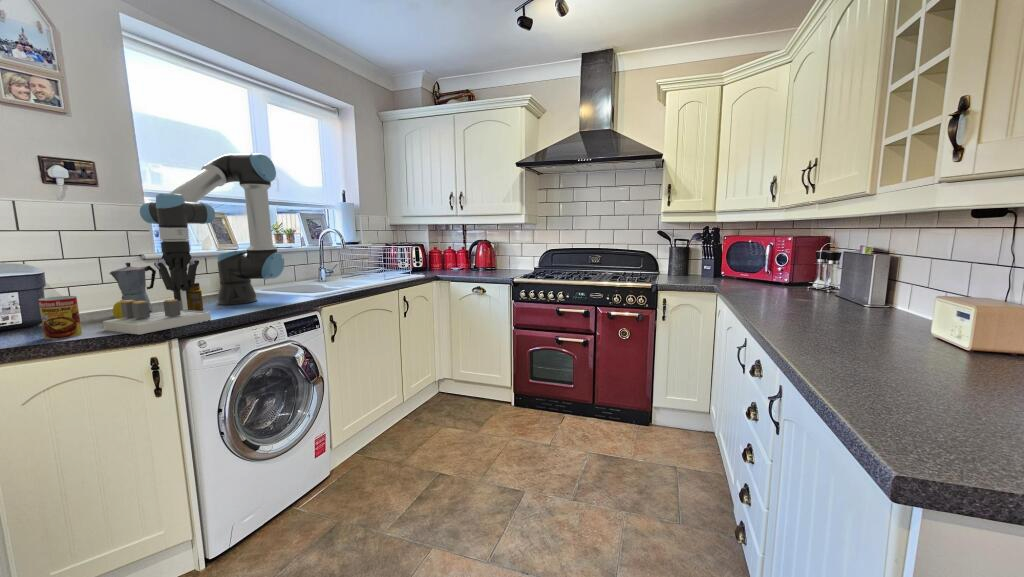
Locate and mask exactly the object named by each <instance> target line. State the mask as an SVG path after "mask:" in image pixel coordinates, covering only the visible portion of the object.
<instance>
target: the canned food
mask: <svg viewBox="0 0 1024 577" xmlns="http://www.w3.org/2000/svg"><path fill="white" fill-rule="evenodd" d="M37 301H38V308H39V313H40V318H41V324H42V329H43V335H44V336H43V337H44V340H47V339H53V340H58V339H57V338H64V339H69V338H68V337H70V338H75V337H79V336H81V334H83V331H82V324H81V317H80V311H79V305H78V298H77V296H76V295H62V296H61V295H60V296H48V297H41V298H39V299H38V300H37ZM78 335H79V336H78ZM74 336H75V337H74Z"/></svg>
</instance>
